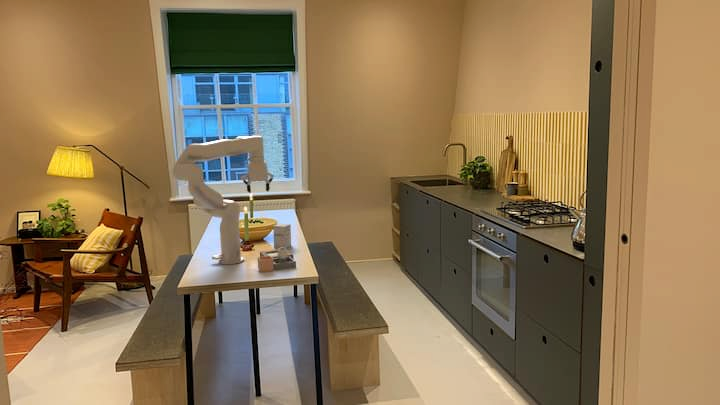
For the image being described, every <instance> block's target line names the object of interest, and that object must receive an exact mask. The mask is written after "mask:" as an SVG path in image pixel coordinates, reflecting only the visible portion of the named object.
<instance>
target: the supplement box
mask: <svg viewBox="0 0 720 405" xmlns="http://www.w3.org/2000/svg"><path fill="white" fill-rule="evenodd" d="M272 228H273V229H272V230H273V248H274V249H276V248H277V249H279V248H281V247H283V248H286V249H288V248H289V247H292V232H291V230H292V228H291V223H277V224H275V225H273V227H272Z"/></svg>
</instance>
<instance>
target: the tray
mask: <svg viewBox="0 0 720 405" xmlns="http://www.w3.org/2000/svg"><path fill="white" fill-rule="evenodd" d="M273 261H274V270H273V271H279V270H287V269H294V268H295V269H296V268H297V261H296V260H295V258H294V259H292V258H291V257H290V256H289V257H287V262H284V263H278V258H273Z"/></svg>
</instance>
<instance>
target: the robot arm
mask: <svg viewBox="0 0 720 405" xmlns="http://www.w3.org/2000/svg"><path fill="white" fill-rule="evenodd" d="M244 154H248V155H249V156H248V157H246V161H248V164H247V173H246V174H244V175H242V176H241V177H240V179H241V180H242V182H243V183H244V184H245V185H246V192H248V194H251V192H252V190H251V185H250V184H251V183H252V182H253V183H255V182H265V191H266V192H270V188H271V187H270V184H271V182H272V181H273V179H274V177H275V174H272V173H269V172H268V166H267V162H266V161H265V151H264V137H263V136H262V135H251V136H249V135H245V136H244V135H242V136H240V135H239V136H237V137H236V138H234V139H220V140H219V139H218V140H214V141H210V142H203V143H190V144H189V145H187V146H186V148H185V149H184V150H183V151H182V152H181V154H180V156H179V157H178V158H177V160H176V161H175V163H174V165H173V167H172V176H173V177H174V178H175V179H176V180H178V181H184V182H187V188H188V192H189V195H190V196H191V197H192V201H193V203H194V205H195V207H196V208H199V210H201V211H203V212H205V213H206V214H208V215H209V216H211V217H214V218H217V219H218V218H219V219H221V220H220V224H219V236H220V239H219V240H220V252H219V254H217V255H216V254H215V255H212V256H211V258H212V260H215V261H217V260H218V263H219V264H221V265H236V264H239V263H243V262H244V261H245V257H244V256H241V255H242V254H241V252H242V251H241V238H240V215H241V208H240V205H239V203H238V202H236V201H234V200H230V199H224V198H223V195H222V194H221V193H219V191H217V190H215V189H213V188H212V187H211V186H209V185H208V184H206V183H205V180H204V171H203V168H202V167H201V165H199V164H196V162H209V161H213V160H216V159H221V158H227V157H233V156H238V155H244ZM246 178H247V180H246Z"/></svg>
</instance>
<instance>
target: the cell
mask: <svg viewBox="0 0 720 405" xmlns="http://www.w3.org/2000/svg"><path fill="white" fill-rule="evenodd" d="M286 249H287V248H283V247H281V248H277V249H276V250H277V253H278V263H284V262H287V251H286Z"/></svg>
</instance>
